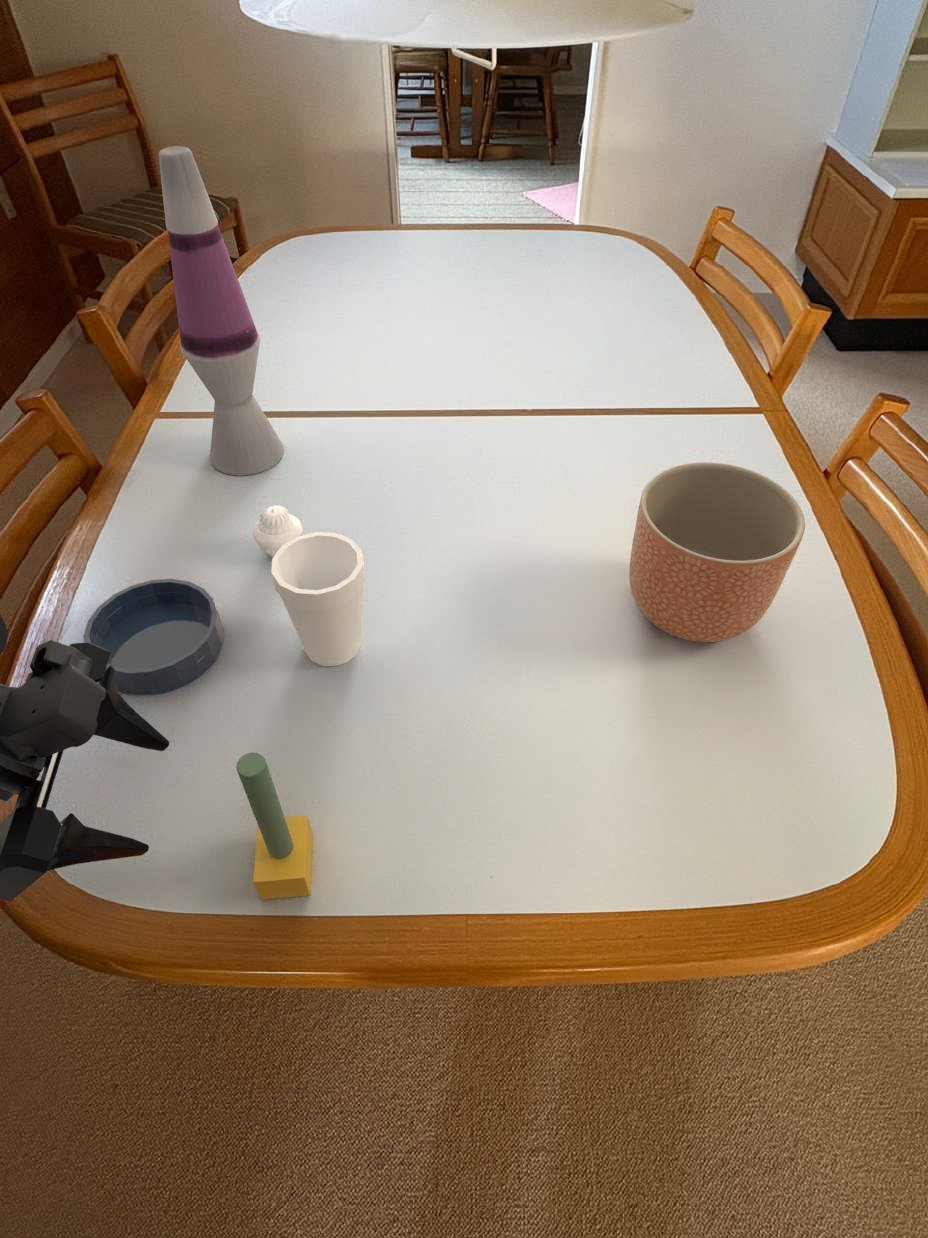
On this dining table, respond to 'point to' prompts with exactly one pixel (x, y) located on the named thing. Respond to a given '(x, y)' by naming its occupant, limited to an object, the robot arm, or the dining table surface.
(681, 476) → the planter
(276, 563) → the foam cup
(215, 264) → the lamp
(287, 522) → the white citrus juicer
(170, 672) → the bowl
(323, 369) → the dining table surface
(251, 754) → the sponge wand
